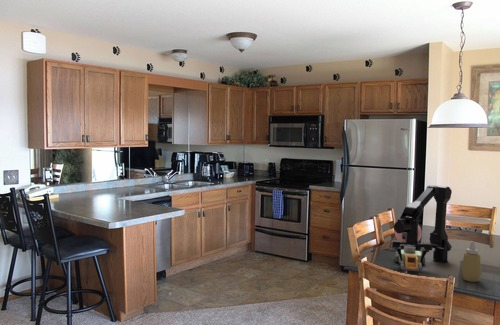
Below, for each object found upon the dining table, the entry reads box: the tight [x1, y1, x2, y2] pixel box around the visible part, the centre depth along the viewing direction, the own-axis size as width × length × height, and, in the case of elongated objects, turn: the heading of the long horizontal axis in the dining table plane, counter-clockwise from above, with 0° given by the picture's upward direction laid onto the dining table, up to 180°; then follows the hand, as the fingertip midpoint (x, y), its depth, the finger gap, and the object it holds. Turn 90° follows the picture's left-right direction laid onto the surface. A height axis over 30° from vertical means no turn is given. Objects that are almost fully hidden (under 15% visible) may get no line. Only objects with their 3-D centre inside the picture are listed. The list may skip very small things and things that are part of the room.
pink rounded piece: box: [394, 224, 423, 245], centre depth 256 cm, size 15×20×15 cm
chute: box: [405, 254, 418, 269], centre depth 213 cm, size 6×9×5 cm, turn 163°
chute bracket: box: [399, 260, 423, 273], centre depth 212 cm, size 10×11×2 cm
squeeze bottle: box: [461, 240, 482, 283], centre depth 194 cm, size 8×8×18 cm
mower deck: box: [394, 246, 426, 266], centre depth 222 cm, size 14×9×8 cm, turn 73°
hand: (411, 261), depth 213 cm, fingers open, 9 cm apart
